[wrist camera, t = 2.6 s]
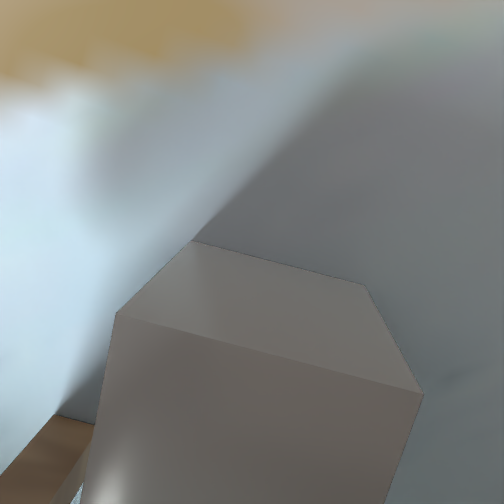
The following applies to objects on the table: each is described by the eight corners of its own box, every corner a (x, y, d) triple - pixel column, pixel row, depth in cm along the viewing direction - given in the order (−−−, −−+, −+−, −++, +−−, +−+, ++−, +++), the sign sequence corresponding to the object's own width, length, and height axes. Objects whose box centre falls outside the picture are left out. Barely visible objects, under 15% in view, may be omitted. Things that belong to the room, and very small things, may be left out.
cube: (156, 395, 14) (68, 564, 9) (191, 240, 13) (115, 313, 8) (316, 437, 14) (334, 637, 9) (364, 284, 13) (423, 394, 7)
